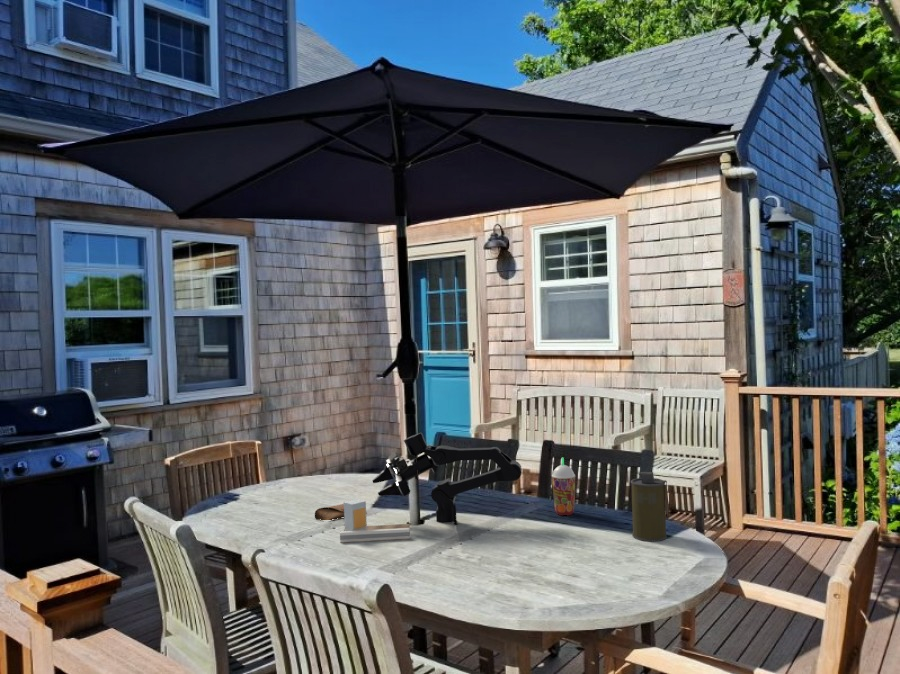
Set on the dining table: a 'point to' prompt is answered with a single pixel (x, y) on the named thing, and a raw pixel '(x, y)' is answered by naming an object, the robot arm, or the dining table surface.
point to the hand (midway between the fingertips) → (375, 488)
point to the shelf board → (384, 528)
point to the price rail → (375, 535)
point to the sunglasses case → (330, 512)
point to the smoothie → (563, 489)
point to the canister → (649, 507)
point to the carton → (355, 515)
